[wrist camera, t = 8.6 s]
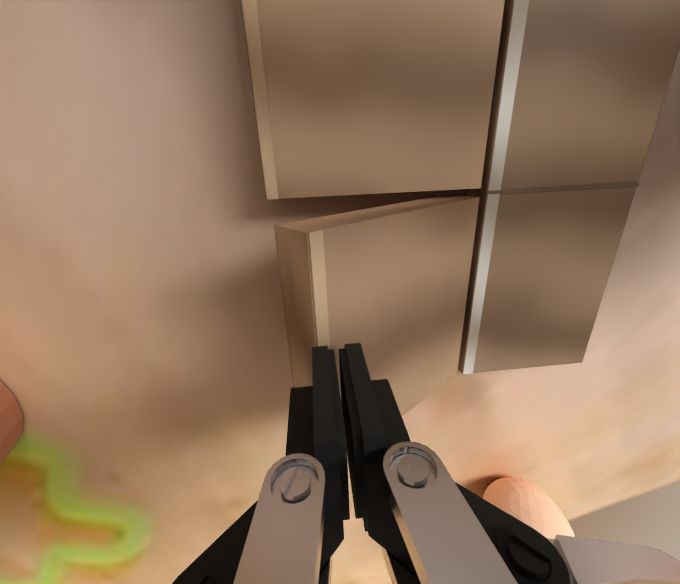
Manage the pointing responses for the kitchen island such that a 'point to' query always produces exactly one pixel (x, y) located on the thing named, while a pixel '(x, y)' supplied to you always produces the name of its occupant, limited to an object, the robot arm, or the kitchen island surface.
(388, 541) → the robot arm
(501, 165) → the laid board
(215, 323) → the kitchen island surface
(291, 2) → the plank
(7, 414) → the potted plant
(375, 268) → the plank
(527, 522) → the egg
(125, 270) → the kitchen island surface
